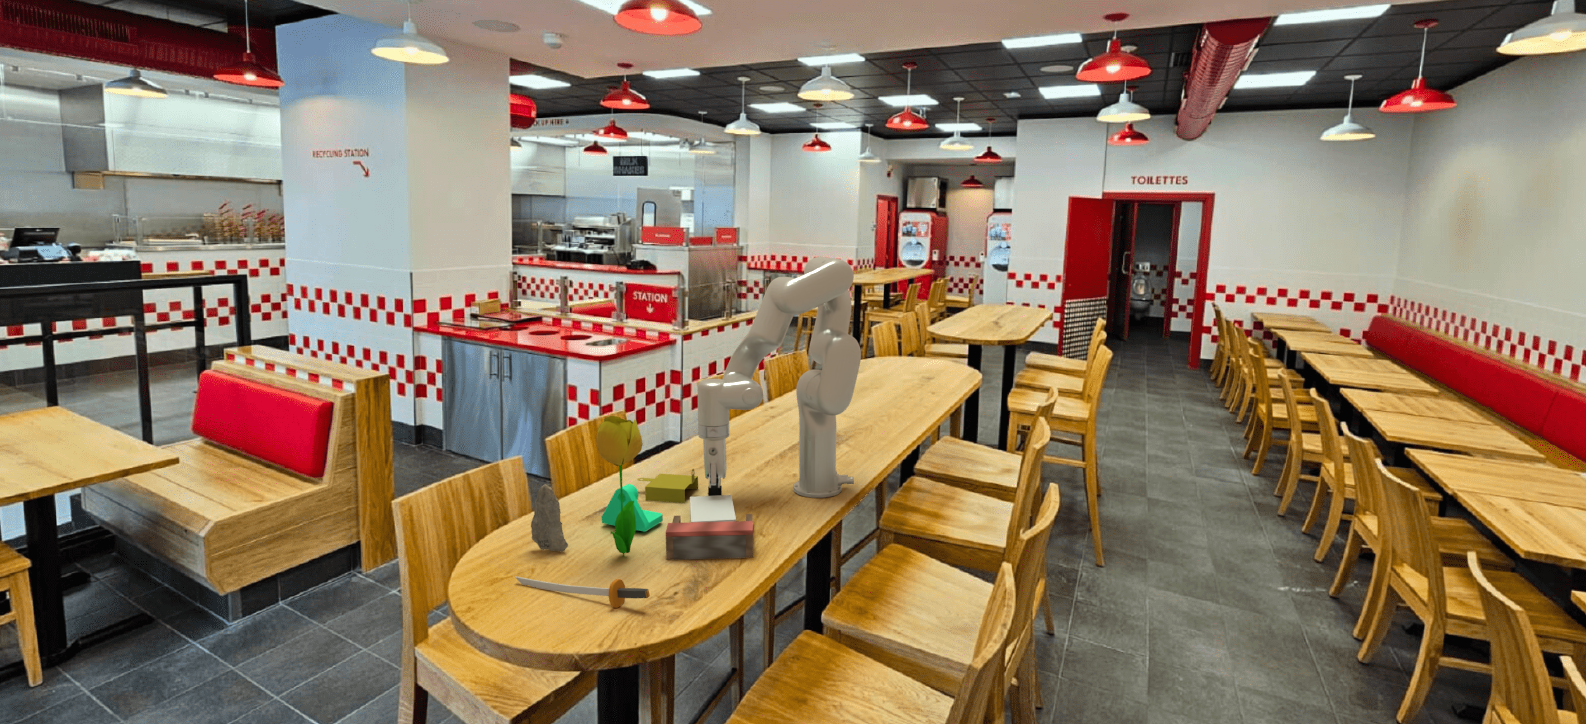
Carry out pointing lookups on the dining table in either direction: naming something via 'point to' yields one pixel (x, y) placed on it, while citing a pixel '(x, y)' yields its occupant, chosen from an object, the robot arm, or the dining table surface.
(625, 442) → the flower
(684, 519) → the dining table surface
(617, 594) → the katana
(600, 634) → the dining table surface
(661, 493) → the bracket
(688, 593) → the dining table surface
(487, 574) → the dining table surface
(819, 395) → the robot arm
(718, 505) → the panel
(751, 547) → the bridge
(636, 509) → the camera mount
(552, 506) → the stone tool
